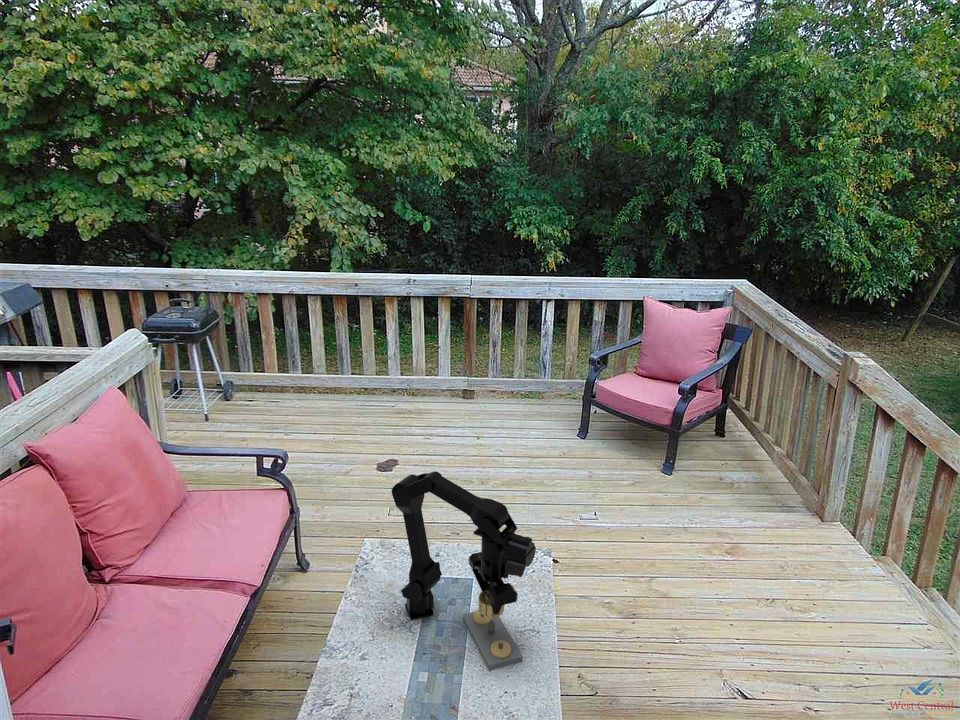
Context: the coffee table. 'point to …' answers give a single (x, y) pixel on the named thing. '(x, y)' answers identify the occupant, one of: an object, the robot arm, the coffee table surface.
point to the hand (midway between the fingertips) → (491, 605)
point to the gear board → (492, 640)
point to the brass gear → (487, 605)
